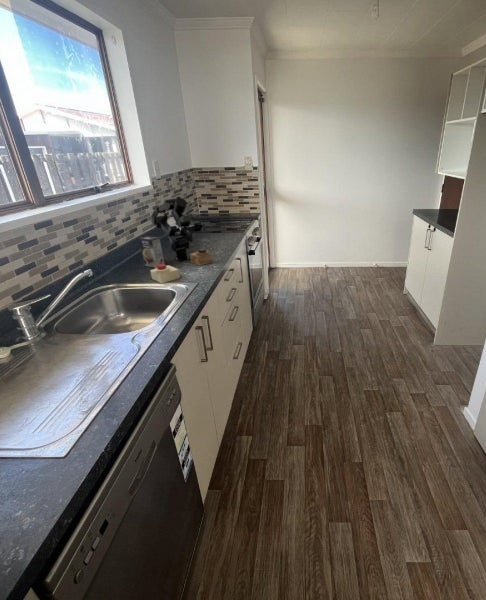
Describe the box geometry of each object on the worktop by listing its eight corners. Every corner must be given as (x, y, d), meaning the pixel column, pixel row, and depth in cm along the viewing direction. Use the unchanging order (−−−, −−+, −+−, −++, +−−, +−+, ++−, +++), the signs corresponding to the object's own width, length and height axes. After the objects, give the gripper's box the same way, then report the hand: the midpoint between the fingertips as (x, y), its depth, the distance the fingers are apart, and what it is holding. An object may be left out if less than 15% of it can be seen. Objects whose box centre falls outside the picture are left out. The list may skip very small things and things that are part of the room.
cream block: (151, 279, 167) (148, 267, 164) (170, 273, 174) (168, 261, 171) (161, 284, 161) (158, 271, 158) (180, 278, 168) (178, 266, 165)
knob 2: (197, 252, 185) (197, 249, 185) (203, 250, 188) (203, 248, 187) (201, 253, 183) (201, 250, 182) (207, 252, 186) (207, 249, 185)
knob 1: (156, 269, 163) (155, 265, 162) (163, 267, 165) (163, 263, 164) (160, 271, 160) (159, 267, 159) (167, 268, 163) (167, 264, 162)
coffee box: (144, 266, 185) (138, 238, 178) (153, 262, 191) (147, 235, 184) (156, 268, 182) (150, 239, 175) (165, 264, 187) (159, 236, 181)
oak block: (191, 262, 190) (189, 250, 187) (203, 259, 196) (201, 247, 193) (201, 266, 184) (199, 254, 181) (213, 263, 189) (212, 251, 186)
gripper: (165, 211, 169) (178, 236, 167) (198, 206, 181) (211, 230, 178) (162, 224, 178) (174, 248, 175) (194, 219, 189) (206, 241, 187)
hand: (192, 241), depth 179 cm, fingers closed
